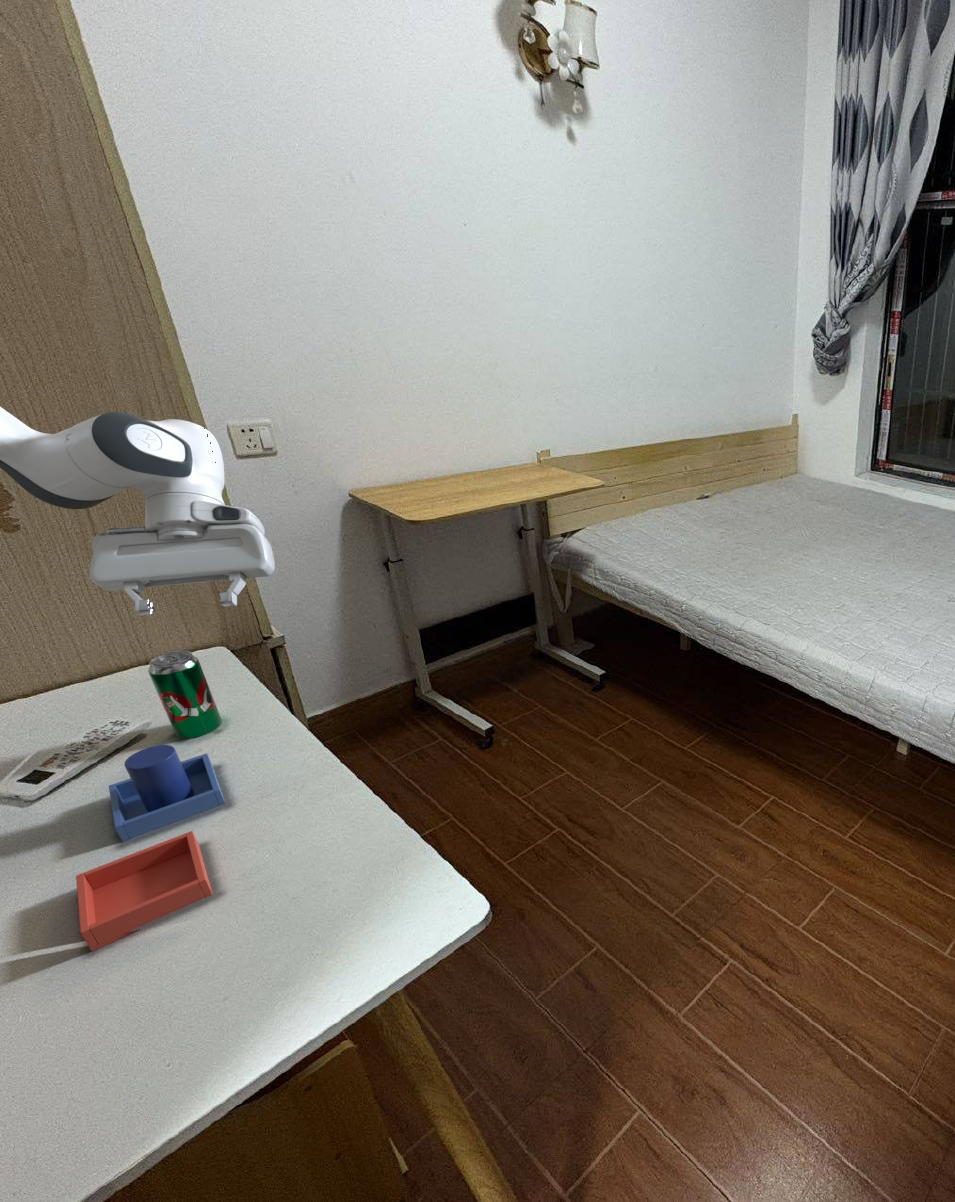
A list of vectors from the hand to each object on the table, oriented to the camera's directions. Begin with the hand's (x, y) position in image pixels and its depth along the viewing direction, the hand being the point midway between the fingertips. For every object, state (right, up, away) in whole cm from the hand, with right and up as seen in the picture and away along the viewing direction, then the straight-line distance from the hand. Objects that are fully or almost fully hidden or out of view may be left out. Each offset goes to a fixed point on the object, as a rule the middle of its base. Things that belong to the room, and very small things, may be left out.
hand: (187, 609), depth 94 cm
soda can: (+3, -17, -1) cm, 18 cm away
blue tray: (+11, -24, -14) cm, 30 cm away
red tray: (+20, -30, -25) cm, 44 cm away
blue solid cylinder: (+11, -24, -14) cm, 30 cm away
